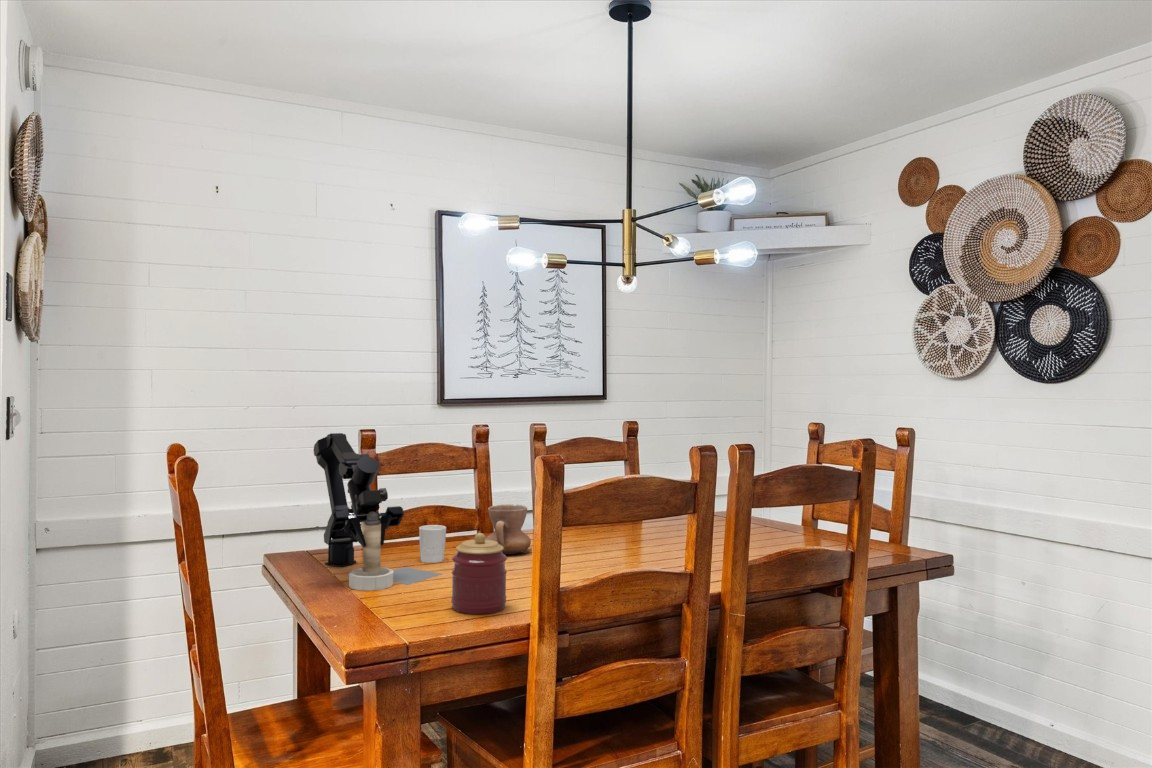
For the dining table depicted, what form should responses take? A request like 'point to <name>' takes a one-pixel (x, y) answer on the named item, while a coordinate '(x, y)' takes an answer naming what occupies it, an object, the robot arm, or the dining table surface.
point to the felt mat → (412, 575)
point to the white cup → (432, 543)
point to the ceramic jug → (509, 527)
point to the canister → (479, 576)
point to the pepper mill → (372, 543)
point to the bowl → (371, 579)
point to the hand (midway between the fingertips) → (373, 545)
